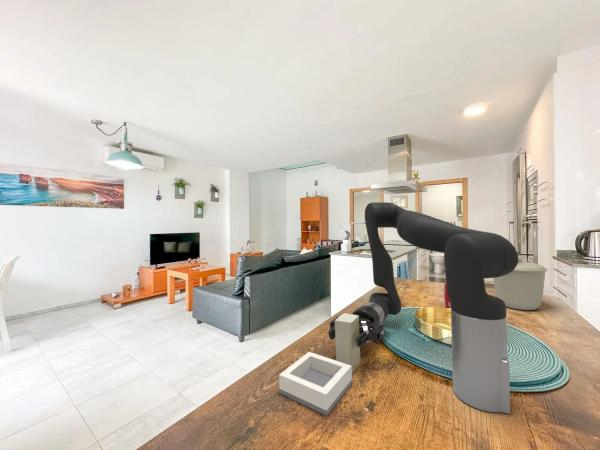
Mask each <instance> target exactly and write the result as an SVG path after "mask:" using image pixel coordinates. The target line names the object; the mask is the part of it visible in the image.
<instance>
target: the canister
mask: <svg viewBox="0 0 600 450" xmlns="http://www.w3.org/2000/svg"><path fill="white" fill-rule="evenodd" d="M548 270H549V269H548V267H544V266H543V265H542V264H538V263H536V262H530V261H529V262H527V261H523V257H522V256H520V255H518V264H517V266H516V268H515V269H514V270H513V271H512V272H510V273H509V274H507V275H504V276H500V277H496V278H492V279H493V285H494V291H495V297H498V298H500V299H501V300H503V301H504V302H505V304H506V308H510V309H514V310H520V311H534V310H537V309H539V308H540V307H541V305H542V301H543V295H544V286H545V280H546V279H545V277H546V272H547V271H548Z"/></svg>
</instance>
